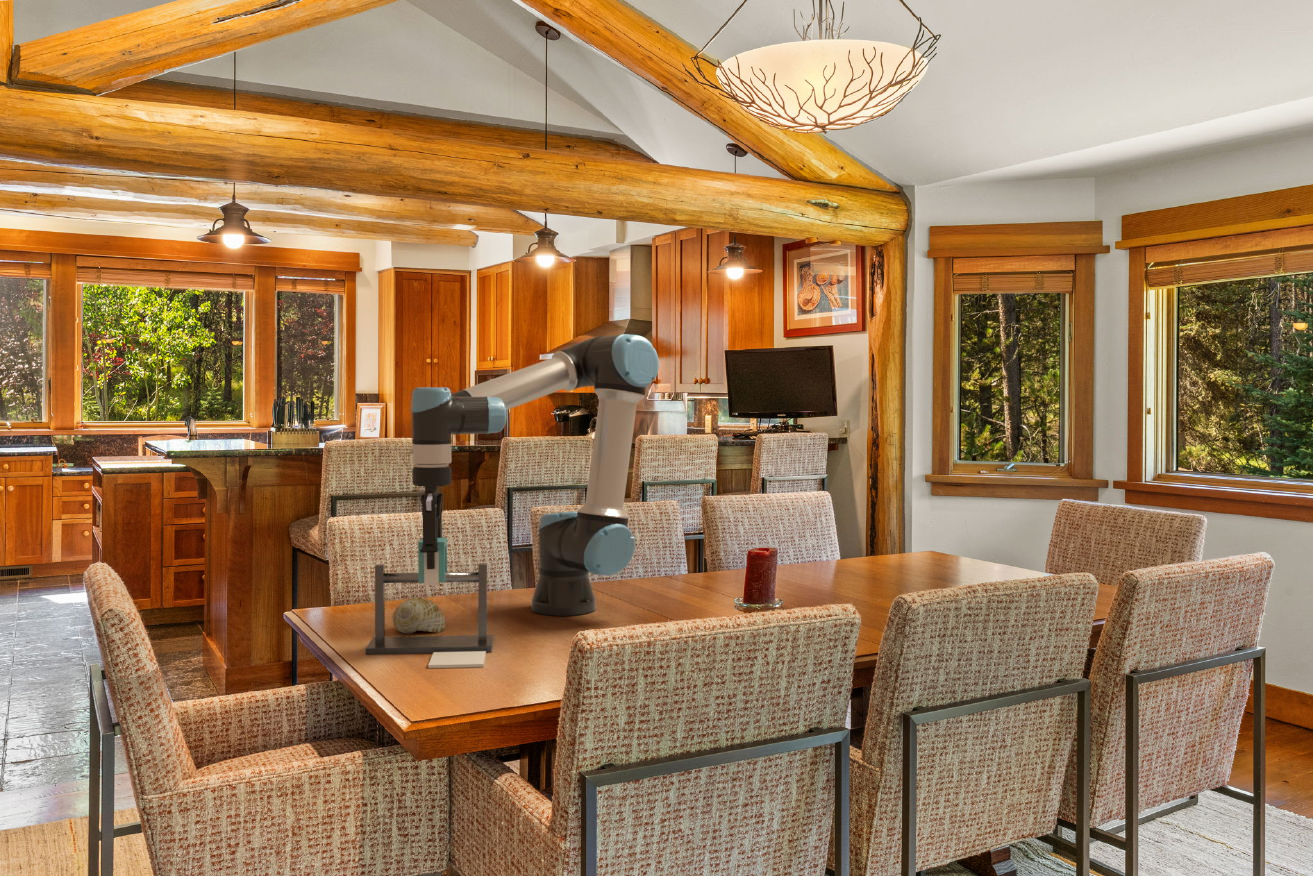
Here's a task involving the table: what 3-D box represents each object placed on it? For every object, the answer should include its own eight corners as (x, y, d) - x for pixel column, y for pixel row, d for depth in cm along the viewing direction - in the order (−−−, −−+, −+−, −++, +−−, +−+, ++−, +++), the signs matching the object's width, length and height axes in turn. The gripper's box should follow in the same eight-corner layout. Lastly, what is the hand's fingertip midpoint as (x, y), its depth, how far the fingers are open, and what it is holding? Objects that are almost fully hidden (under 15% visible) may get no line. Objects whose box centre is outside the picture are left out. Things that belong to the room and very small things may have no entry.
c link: (447, 577, 196) (446, 537, 196) (444, 582, 191) (444, 542, 190) (421, 577, 196) (421, 538, 195) (418, 583, 190) (418, 542, 190)
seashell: (454, 622, 212) (445, 586, 207) (433, 652, 204) (424, 615, 199) (412, 616, 215) (403, 580, 210) (390, 646, 207) (380, 609, 202)
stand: (493, 640, 199) (494, 560, 199) (491, 652, 190) (491, 567, 190) (373, 642, 196) (373, 561, 196) (365, 654, 188) (365, 569, 187)
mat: (485, 654, 189) (486, 651, 189) (483, 667, 180) (483, 664, 180) (433, 655, 188) (433, 652, 188) (428, 668, 179) (428, 665, 179)
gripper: (418, 461, 201) (419, 573, 202) (406, 469, 182) (407, 592, 183) (455, 461, 202) (456, 572, 203) (446, 469, 183) (448, 591, 184)
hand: (433, 581), depth 193 cm, fingers closed on c link, 6 cm apart
